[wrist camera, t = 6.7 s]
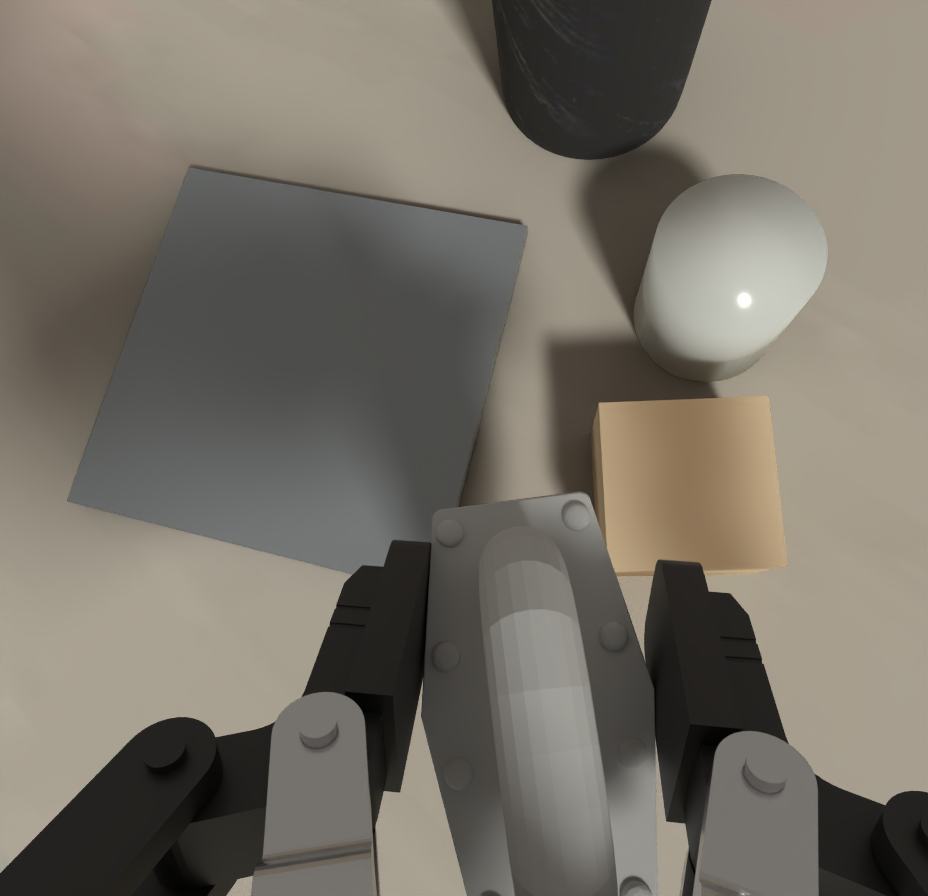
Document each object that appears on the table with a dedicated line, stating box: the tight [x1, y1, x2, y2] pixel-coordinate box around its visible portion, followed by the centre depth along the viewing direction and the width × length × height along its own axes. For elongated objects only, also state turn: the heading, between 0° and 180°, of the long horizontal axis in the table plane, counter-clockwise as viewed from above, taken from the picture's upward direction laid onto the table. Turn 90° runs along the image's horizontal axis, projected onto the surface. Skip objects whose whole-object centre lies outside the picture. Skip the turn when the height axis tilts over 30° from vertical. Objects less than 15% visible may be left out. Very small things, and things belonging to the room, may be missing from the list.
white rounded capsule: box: [634, 174, 828, 382], centre depth 24 cm, size 5×5×5 cm
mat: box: [67, 168, 528, 574], centre depth 27 cm, size 14×14×1 cm
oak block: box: [590, 396, 788, 576], centre depth 23 cm, size 5×5×4 cm
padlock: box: [421, 491, 658, 896], centre depth 12 cm, size 7×4×10 cm, turn 7°
